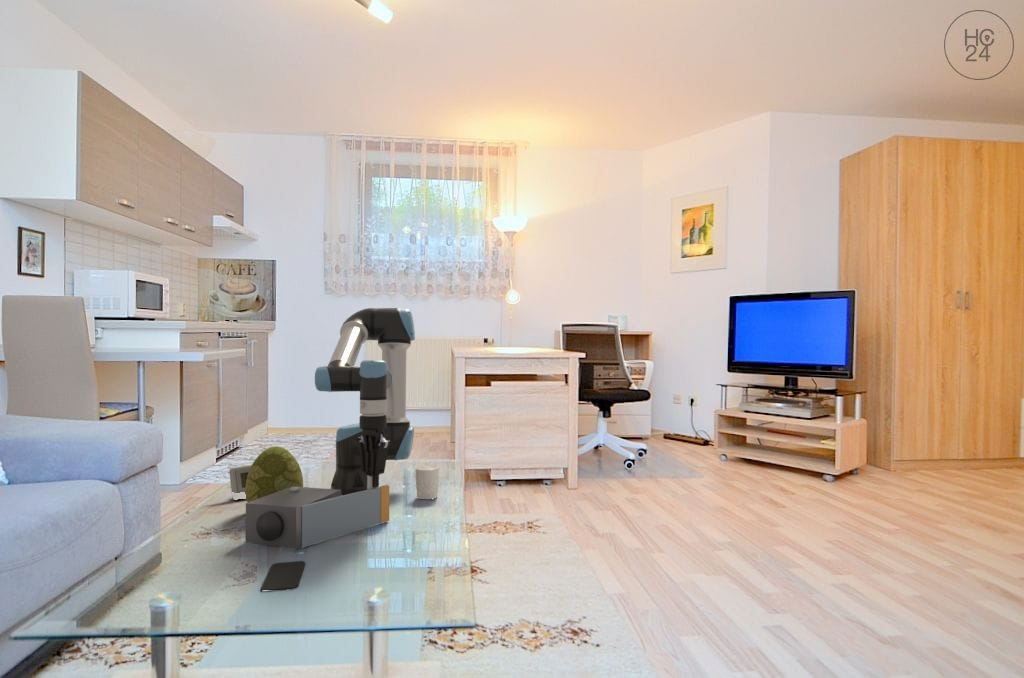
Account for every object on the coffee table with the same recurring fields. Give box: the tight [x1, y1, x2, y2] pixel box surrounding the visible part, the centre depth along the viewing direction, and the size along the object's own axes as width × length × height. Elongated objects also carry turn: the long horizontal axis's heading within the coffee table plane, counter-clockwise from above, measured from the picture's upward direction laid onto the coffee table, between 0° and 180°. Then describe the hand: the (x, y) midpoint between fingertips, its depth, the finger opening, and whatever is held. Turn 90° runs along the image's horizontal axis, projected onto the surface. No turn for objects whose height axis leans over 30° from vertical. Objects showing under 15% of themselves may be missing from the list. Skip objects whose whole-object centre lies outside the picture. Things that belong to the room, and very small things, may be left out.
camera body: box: [245, 486, 342, 549], centre depth 154 cm, size 21×16×11 cm
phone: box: [260, 560, 306, 591], centre depth 125 cm, size 7×1×15 cm
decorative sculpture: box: [245, 445, 304, 503], centre depth 175 cm, size 16×16×20 cm
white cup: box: [414, 464, 440, 500], centre depth 192 cm, size 8×8×10 cm
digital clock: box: [229, 464, 252, 493], centre depth 195 cm, size 16×9×11 cm, turn 123°
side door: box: [295, 484, 390, 550], centre depth 153 cm, size 29×1×10 cm, turn 143°
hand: (372, 498), depth 163 cm, fingers closed
